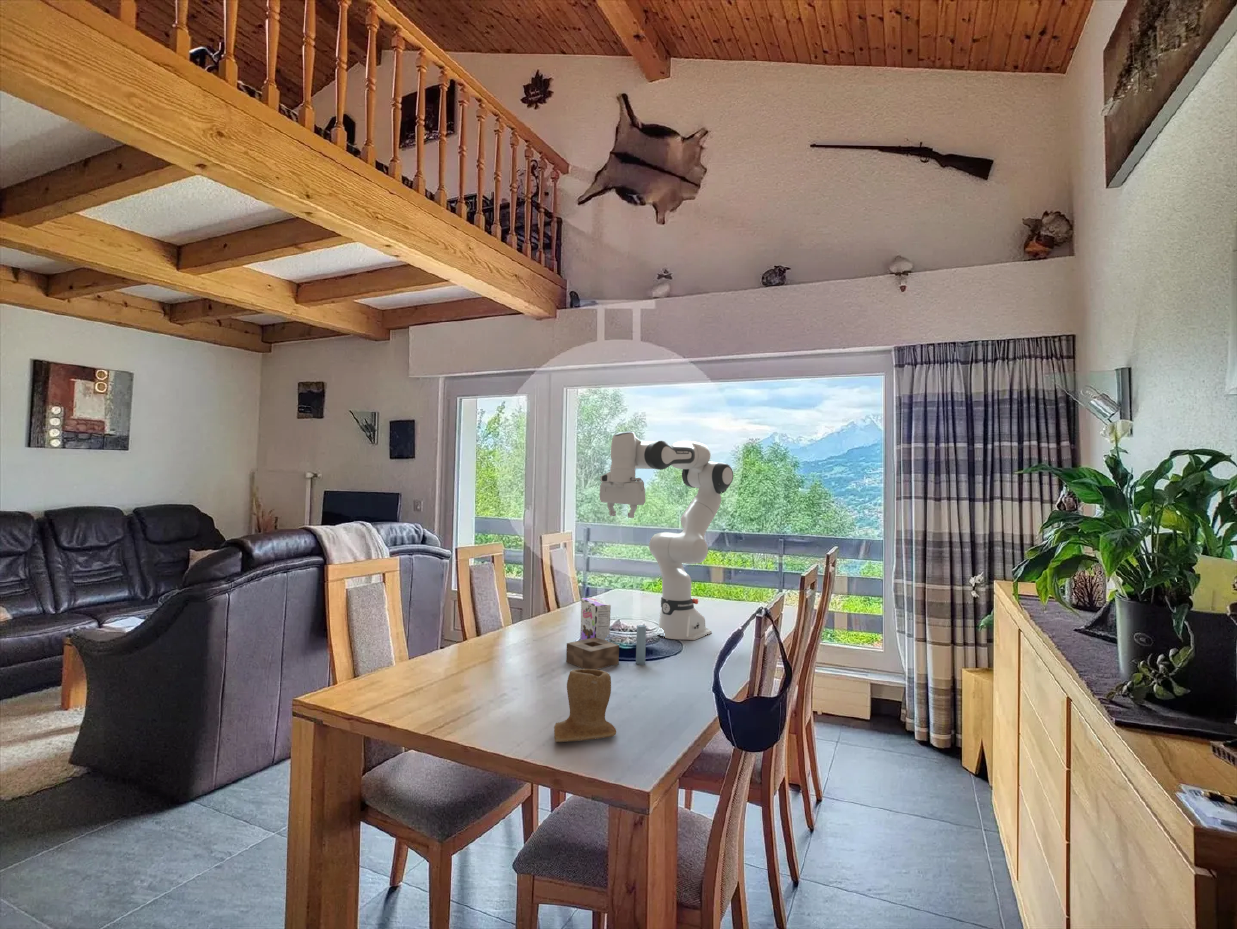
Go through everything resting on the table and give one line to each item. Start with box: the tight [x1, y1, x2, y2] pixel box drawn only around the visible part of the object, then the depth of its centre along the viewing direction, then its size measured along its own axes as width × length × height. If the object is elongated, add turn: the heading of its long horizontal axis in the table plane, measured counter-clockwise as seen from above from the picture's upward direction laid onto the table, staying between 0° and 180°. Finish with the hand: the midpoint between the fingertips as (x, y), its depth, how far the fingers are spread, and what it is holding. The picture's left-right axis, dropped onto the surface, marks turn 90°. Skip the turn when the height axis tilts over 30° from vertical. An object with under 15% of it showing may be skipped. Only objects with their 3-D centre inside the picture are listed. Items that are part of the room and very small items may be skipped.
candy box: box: [579, 596, 612, 641], centre depth 218 cm, size 14×6×16 cm, turn 25°
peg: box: [635, 624, 647, 666], centre depth 202 cm, size 3×3×12 cm
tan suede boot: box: [553, 668, 617, 743], centre depth 145 cm, size 15×12×15 cm
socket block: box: [565, 637, 620, 670], centre depth 201 cm, size 12×12×6 cm
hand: (621, 516), depth 217 cm, fingers open, 8 cm apart
